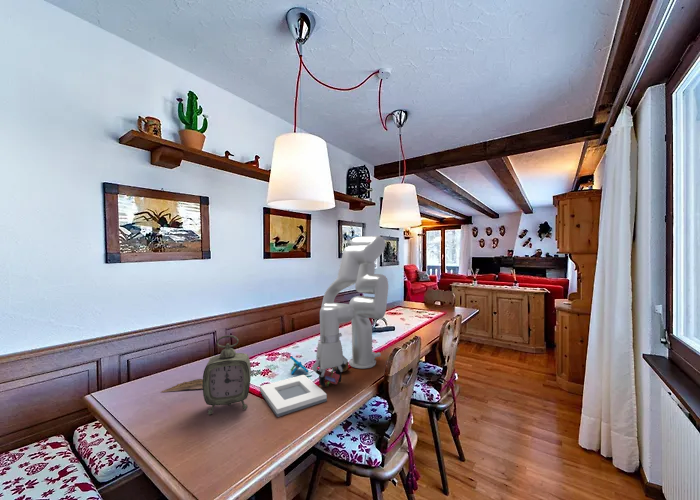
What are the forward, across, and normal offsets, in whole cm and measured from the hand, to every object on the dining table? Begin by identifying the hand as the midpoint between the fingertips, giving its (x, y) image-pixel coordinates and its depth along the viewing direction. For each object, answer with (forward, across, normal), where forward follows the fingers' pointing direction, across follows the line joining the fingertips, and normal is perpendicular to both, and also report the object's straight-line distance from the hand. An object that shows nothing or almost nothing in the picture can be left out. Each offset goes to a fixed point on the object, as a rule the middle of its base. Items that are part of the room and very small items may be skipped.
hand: (330, 382), depth 117 cm
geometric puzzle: (+1, 0, 0) cm, 1 cm away
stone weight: (+1, -12, -14) cm, 18 cm away
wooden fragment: (+2, +44, -31) cm, 54 cm away
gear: (+1, +5, -19) cm, 20 cm away
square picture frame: (+1, +16, 0) cm, 16 cm away
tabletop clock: (+1, +37, -5) cm, 37 cm away
